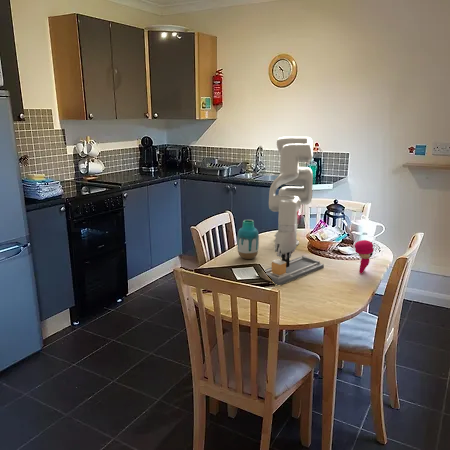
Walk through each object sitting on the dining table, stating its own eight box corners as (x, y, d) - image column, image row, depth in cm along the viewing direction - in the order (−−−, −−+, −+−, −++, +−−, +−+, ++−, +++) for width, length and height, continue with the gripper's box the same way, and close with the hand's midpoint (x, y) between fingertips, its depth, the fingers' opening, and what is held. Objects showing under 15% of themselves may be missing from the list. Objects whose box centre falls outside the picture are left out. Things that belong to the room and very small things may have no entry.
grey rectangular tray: (300, 259, 212) (300, 254, 211) (323, 267, 202) (323, 262, 201) (255, 276, 192) (255, 270, 192) (278, 285, 182) (278, 279, 181)
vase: (235, 261, 211) (235, 223, 205) (239, 253, 221) (239, 217, 215) (257, 262, 209) (257, 224, 203) (259, 254, 219) (260, 218, 213)
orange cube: (277, 269, 195) (277, 258, 193) (286, 272, 191) (286, 261, 189) (271, 271, 192) (271, 261, 191) (279, 275, 188) (280, 264, 187)
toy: (372, 276, 191) (375, 244, 187) (353, 274, 193) (355, 243, 189) (370, 269, 199) (373, 238, 195) (351, 268, 201) (354, 237, 197)
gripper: (291, 222, 196) (290, 260, 201) (268, 228, 187) (267, 268, 192) (304, 225, 191) (302, 264, 196) (281, 232, 181) (280, 272, 186)
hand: (285, 266), depth 194 cm, fingers closed
